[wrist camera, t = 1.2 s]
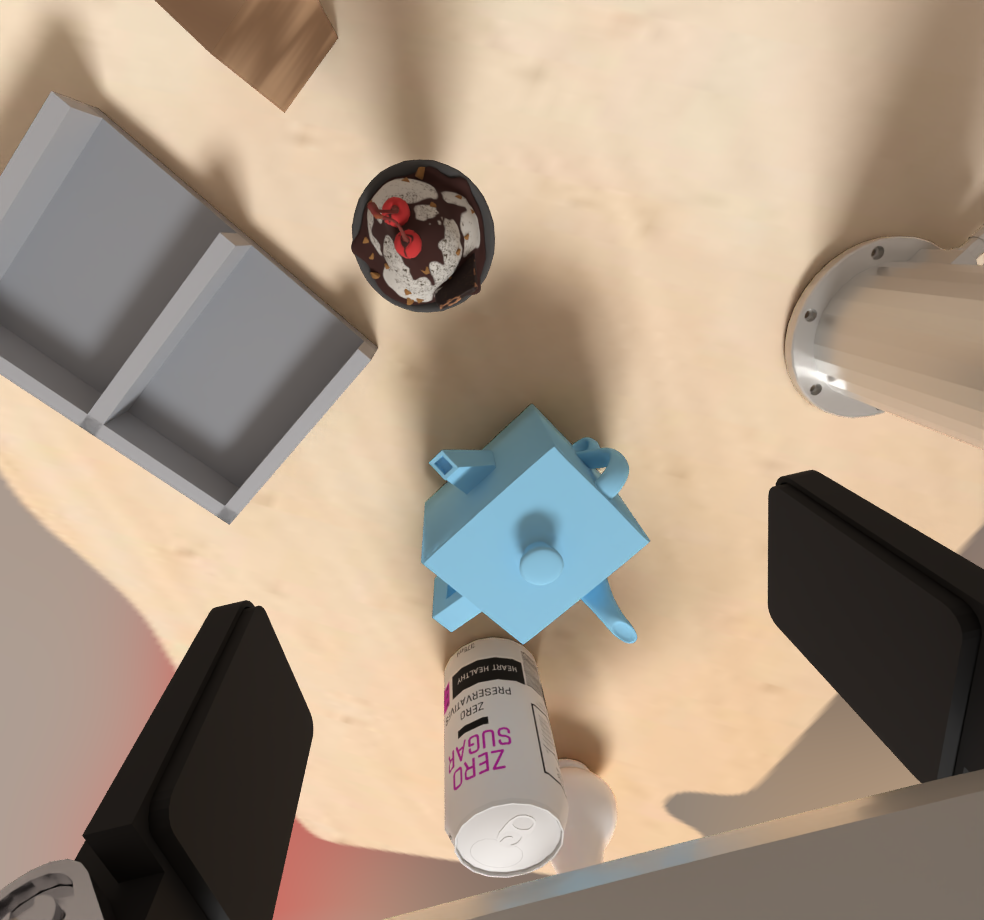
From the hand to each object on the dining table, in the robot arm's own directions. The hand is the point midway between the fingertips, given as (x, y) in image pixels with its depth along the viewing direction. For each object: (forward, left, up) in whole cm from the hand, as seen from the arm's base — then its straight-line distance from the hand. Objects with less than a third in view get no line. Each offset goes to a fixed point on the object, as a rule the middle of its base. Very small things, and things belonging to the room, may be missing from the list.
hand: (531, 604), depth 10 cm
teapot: (+6, +11, -30) cm, 33 cm away
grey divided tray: (+12, -14, -30) cm, 35 cm away
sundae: (-3, -6, -30) cm, 31 cm away
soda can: (+20, +21, -30) cm, 42 cm away
